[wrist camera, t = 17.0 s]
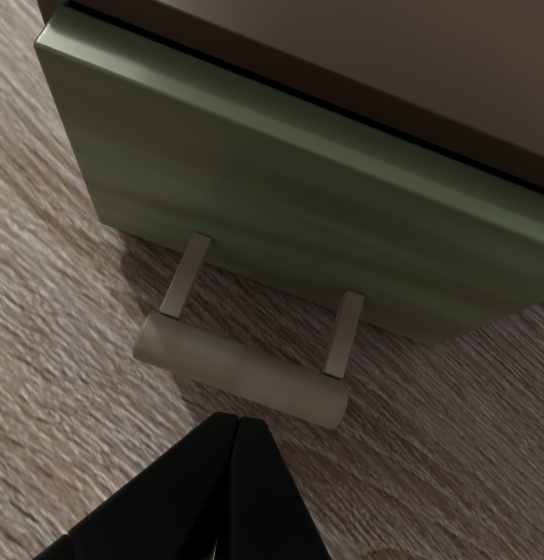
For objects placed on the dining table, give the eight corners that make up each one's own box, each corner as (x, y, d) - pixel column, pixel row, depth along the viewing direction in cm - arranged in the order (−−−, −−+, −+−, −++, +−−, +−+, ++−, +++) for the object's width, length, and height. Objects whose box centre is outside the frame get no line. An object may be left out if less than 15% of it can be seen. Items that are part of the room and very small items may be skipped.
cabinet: (441, 329, 18) (688, 214, 9) (102, 200, 18) (16, -55, 9) (494, 58, 24) (684, -180, 15) (236, -47, 23) (269, -364, 14)
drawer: (408, 466, 15) (607, 482, 8) (40, 333, 15) (-99, 223, 8) (487, 74, 22) (638, -112, 15) (233, -29, 21) (258, -277, 14)
